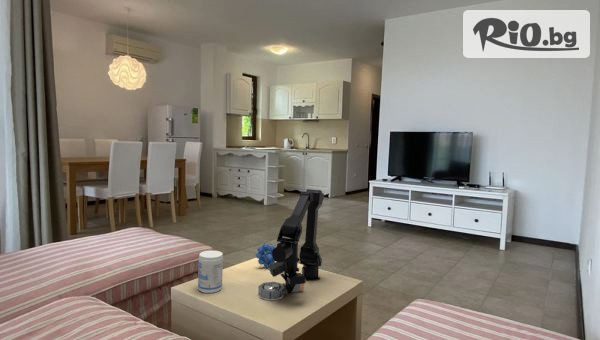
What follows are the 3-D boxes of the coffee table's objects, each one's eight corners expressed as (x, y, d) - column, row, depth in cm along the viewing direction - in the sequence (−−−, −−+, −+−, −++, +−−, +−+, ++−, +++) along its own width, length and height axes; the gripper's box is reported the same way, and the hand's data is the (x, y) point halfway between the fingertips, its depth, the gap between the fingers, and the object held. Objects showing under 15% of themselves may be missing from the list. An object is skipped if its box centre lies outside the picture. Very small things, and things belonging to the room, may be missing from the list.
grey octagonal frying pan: (298, 284, 157) (298, 277, 156) (307, 294, 148) (307, 286, 147) (256, 289, 150) (256, 282, 150) (262, 299, 141) (262, 291, 141)
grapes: (258, 272, 172) (258, 246, 172) (253, 267, 179) (254, 242, 178) (281, 269, 177) (282, 244, 176) (276, 264, 183) (277, 240, 182)
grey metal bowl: (279, 288, 154) (279, 280, 154) (287, 298, 145) (287, 289, 144) (256, 291, 150) (256, 283, 150) (262, 302, 141) (262, 292, 141)
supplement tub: (193, 290, 149) (193, 254, 148) (208, 282, 158) (208, 248, 157) (212, 295, 146) (213, 258, 144) (227, 287, 154) (227, 252, 153)
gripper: (264, 249, 152) (263, 287, 153) (278, 264, 134) (277, 306, 136) (289, 247, 156) (289, 283, 157) (306, 261, 138) (305, 302, 140)
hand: (289, 293), depth 147 cm, fingers closed
